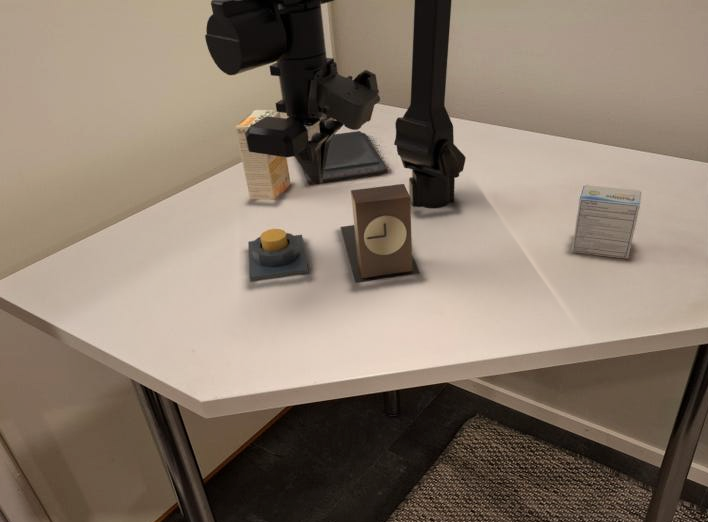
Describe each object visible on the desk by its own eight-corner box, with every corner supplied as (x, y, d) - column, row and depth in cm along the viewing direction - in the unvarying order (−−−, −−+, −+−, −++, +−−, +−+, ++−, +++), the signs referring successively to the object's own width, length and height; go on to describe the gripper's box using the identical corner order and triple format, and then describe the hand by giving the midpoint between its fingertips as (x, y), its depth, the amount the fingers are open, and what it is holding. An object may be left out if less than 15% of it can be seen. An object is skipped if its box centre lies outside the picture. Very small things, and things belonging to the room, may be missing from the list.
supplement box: (276, 205, 106) (262, 127, 97) (249, 203, 107) (233, 126, 98) (292, 184, 112) (280, 109, 103) (267, 182, 113) (253, 108, 104)
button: (262, 241, 90) (259, 230, 89) (287, 238, 91) (285, 227, 90) (262, 254, 88) (260, 242, 86) (288, 250, 88) (286, 239, 87)
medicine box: (630, 245, 91) (642, 189, 86) (628, 261, 88) (640, 204, 83) (574, 238, 94) (583, 183, 88) (570, 253, 90) (579, 197, 85)
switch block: (250, 251, 94) (245, 230, 92) (303, 244, 95) (300, 223, 93) (251, 287, 87) (246, 265, 85) (309, 279, 88) (305, 257, 86)
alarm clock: (403, 183, 82) (410, 197, 79) (406, 256, 89) (413, 272, 86) (350, 190, 81) (355, 204, 78) (357, 263, 88) (362, 279, 85)
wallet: (388, 164, 112) (303, 175, 110) (388, 174, 113) (304, 185, 111) (366, 126, 127) (291, 135, 125) (367, 135, 128) (293, 144, 126)
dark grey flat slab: (397, 224, 99) (397, 219, 98) (420, 279, 87) (420, 273, 86) (340, 232, 98) (340, 226, 97) (356, 288, 86) (355, 282, 85)
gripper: (322, 83, 62) (338, 225, 72) (399, 36, 75) (403, 163, 85) (229, 74, 66) (257, 210, 76) (317, 31, 79) (331, 152, 89)
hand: (317, 182), depth 81 cm, fingers closed
